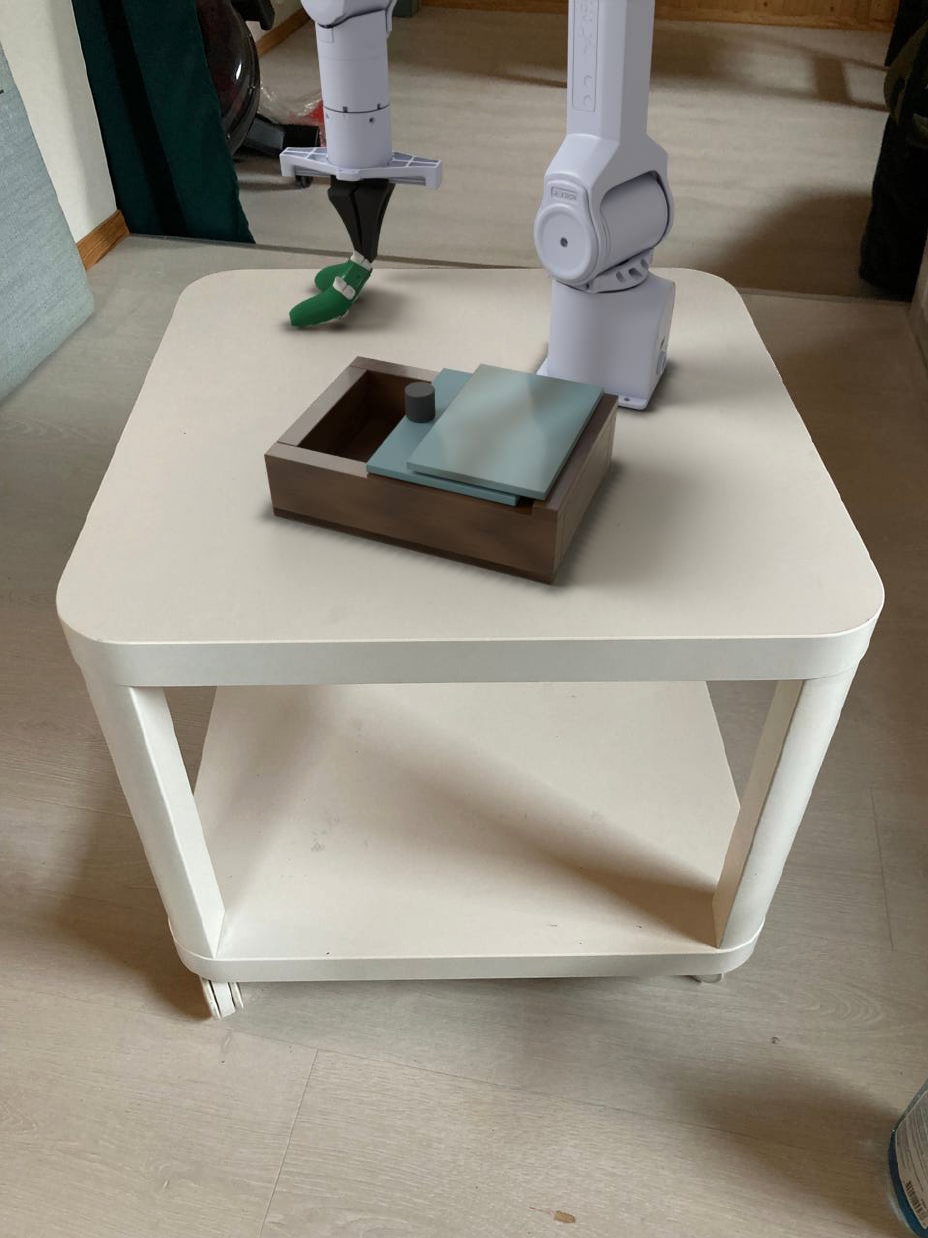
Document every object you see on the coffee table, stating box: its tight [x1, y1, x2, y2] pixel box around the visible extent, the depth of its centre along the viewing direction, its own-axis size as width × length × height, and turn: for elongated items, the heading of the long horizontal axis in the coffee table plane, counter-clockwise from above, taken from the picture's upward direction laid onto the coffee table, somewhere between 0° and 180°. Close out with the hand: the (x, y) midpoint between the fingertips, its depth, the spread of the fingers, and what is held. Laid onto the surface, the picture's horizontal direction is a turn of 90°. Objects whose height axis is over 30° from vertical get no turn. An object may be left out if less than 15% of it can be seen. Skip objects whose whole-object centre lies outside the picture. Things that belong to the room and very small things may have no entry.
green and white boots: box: [288, 250, 374, 328], centre depth 88 cm, size 9×4×6 cm
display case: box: [263, 355, 619, 586], centre depth 67 cm, size 20×14×7 cm
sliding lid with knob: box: [366, 367, 521, 506], centre depth 64 cm, size 10×13×3 cm
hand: (367, 258), depth 93 cm, fingers closed
